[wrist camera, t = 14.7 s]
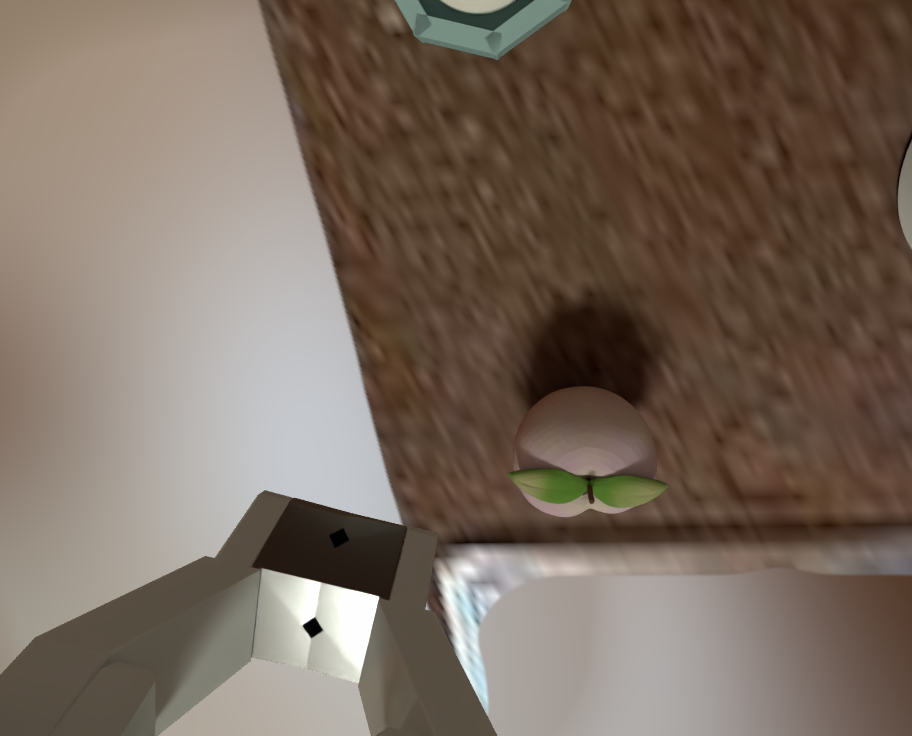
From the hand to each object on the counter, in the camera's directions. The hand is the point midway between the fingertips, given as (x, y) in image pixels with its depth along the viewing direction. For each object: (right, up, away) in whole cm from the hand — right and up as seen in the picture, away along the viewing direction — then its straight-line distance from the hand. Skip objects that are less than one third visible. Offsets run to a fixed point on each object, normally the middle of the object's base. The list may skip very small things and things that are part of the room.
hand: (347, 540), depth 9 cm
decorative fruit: (+10, 0, +31) cm, 33 cm away
